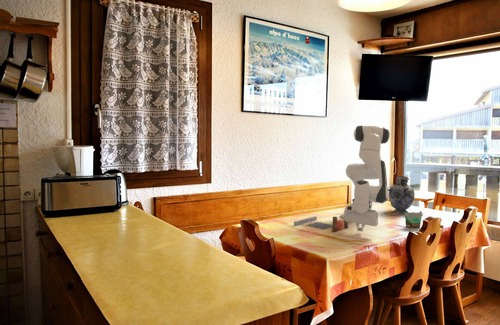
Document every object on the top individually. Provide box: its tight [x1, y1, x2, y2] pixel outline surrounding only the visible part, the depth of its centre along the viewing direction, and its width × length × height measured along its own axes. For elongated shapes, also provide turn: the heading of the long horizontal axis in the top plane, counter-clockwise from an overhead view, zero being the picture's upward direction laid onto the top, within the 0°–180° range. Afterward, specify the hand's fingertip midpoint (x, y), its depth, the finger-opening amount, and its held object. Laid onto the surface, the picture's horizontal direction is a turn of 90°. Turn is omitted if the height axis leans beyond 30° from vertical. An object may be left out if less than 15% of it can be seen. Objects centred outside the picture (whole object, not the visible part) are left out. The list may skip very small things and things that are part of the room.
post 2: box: [343, 219, 349, 229], centre depth 237 cm, size 3×3×9 cm
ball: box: [337, 219, 344, 231], centre depth 232 cm, size 6×6×6 cm
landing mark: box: [305, 221, 332, 230], centre depth 241 cm, size 14×14×1 cm
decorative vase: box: [388, 175, 415, 214], centre depth 292 cm, size 21×19×28 cm
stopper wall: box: [293, 215, 318, 227], centre depth 249 cm, size 2×24×2 cm, turn 138°
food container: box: [404, 210, 424, 229], centre depth 241 cm, size 12×6×10 cm, turn 105°
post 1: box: [331, 216, 338, 233], centre depth 226 cm, size 3×3×9 cm
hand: (360, 231), depth 223 cm, fingers closed
